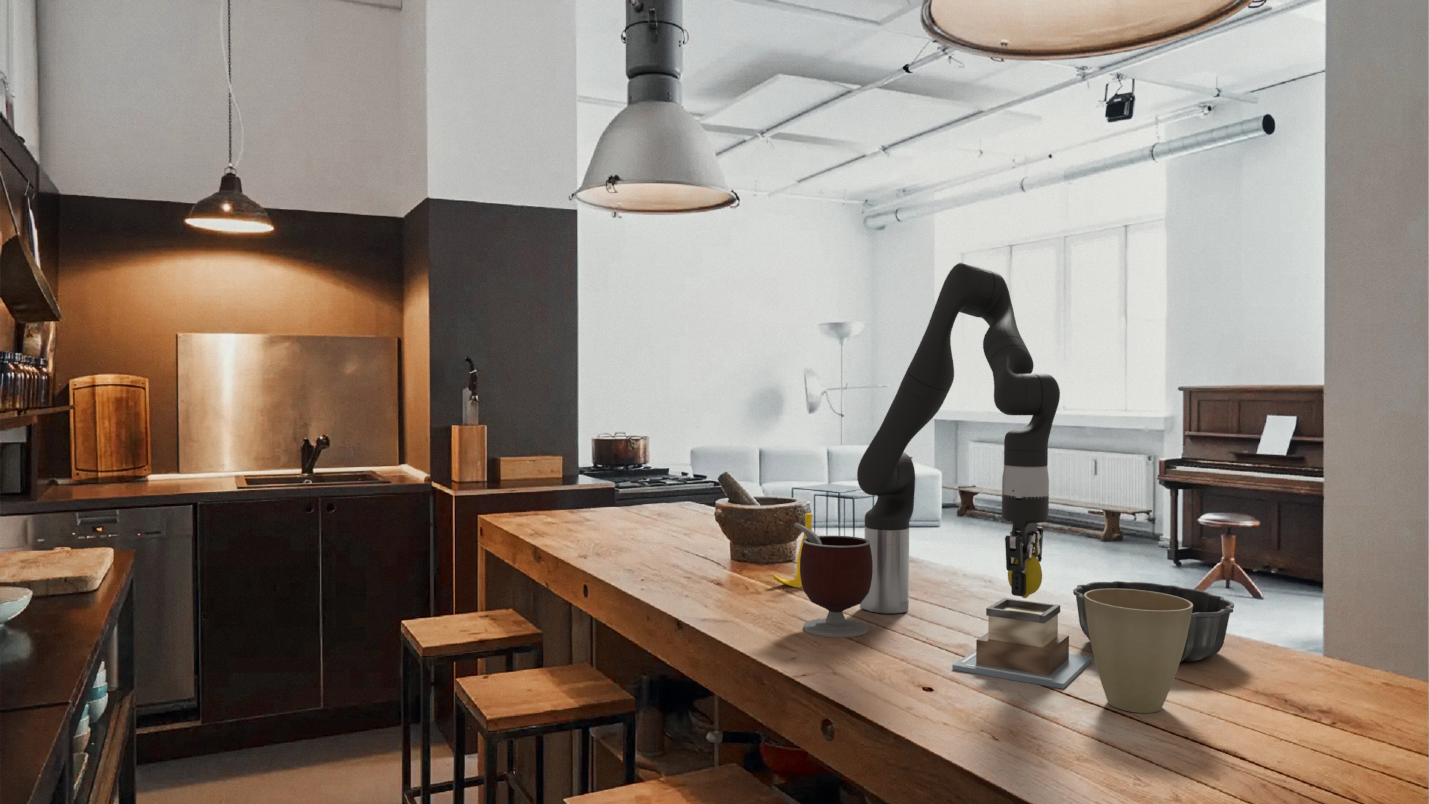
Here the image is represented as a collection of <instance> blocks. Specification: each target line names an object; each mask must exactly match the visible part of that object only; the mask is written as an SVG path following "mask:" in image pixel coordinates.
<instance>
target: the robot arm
mask: <svg viewBox="0 0 1429 804" xmlns="http://www.w3.org/2000/svg"><path fill="white" fill-rule="evenodd" d="M944 279H945V280H944V282H943V284H942V287H941V289H940V291H939V294H938V297H937V300H936V302H935V304H934V308H933V311H932V313H931V316H930V318H929V322H928V324H927V326H926V328H925V332H924V334H923V336H922V338H921V340H920V343H919V345H918V347H917V349H916V351H915V353H914V355H913V357H912V360H911V361H910V363H909V365H908V367H907V368H906V371H905V374H904V376H903V378H902V380H901V382H900V385H899V387H898V389H897V392H896V394H895V395H894V398H893V400H892V403H891V404H890V407H889V408H888V411H886V415H885V416H884V418H883V421H882V422H881V425H880V426H879V429H878V430H877V432H876V434H875V435H874V437H873V439H871V442H870V443H869V445H868V447H867V448H866V450H865V451H864V453H863V455H862V457H861V459H860V461H859V464H858V467H857V471H856V473H857V474H856V477H857V483H858V487H859V488H860V489H861V491H862V492H864V493H865V494H866V495H869V496H874V497H875V496H877V500H876V502H875V503H874V505H873V506H872V508H871V509H869V510H868V511H867V512H866V513H865V514H864V539H867V540H869V541H870V548H871V553H872V561H873V574H872V581H871V586H870V590H869V593H868V594H867V596H866V597H865V598H864V600H863V601H862V602H861V604H859V608H860V609H862V610H866V611H869V612H872V613H878V614H901V613H906V612H908V611H909V602H910V601H909V599H910V598H909V594H910V593H909V592H910V591H909V590H910V589H909V588H910V585H909V583H910V579H909V577H910V521H911V518H912V516H913V513H914V508H915V507H914V506H915V493H916V492H915V490H916V489H915V488H916V472H915V466H914V463H913V460H912V458H911V457H910V455H908V454H907V452H905V450H906V448H907V447H908V445H909V443H910V442H911V441H912V439H913V438H914V437H915V436H916V435H917V434H918V433H919V432H920V431H921V430H922V429H923V428H924V427H926V425H928V423H929V422H930V421H931V420H932V419H933V418H934V416H936V414H937V413H939V410H940V408H942V406H943V404H944V402H945V400H946V398H947V396H948V394H949V392H950V390H951V387H952V385H953V383H954V379H955V365H954V359H953V352H952V344H951V343H952V342H951V337H952V331H953V327H954V324H955V321H956V320H957V317H958V315H959V313H962V314H965V315H968V316H971V317H974V318H981V319H983V320H984V321H985V322H986V323H987V325H988V329H987V331H986V332H985V334H984V337H983V341H982V350H983V353H984V356H985V359H986V361H987V364H988V366H989V367H990V370H991V372H992V377H993V401H994V405H995V407H996V408H997V409H998V411H1000V412H1001V413H1002V414H1004V415H1007V416H1032V417H1031V419H1030V421H1029V423H1028V424H1027V425H1026V426H1024V427H1021V428H1018V429H1012V430H1010V431H1007V432H1006V433H1005V435H1004V440H1003V441H1004V442H1003V443H1004V444H1003V448H1004V450H1003V471H1002V480H1001V481H1002V483H1001V518H1002V519H1003V520H1004V521H1007V522H1011V523H1012V527H1011V528H1012V529H1011V531H1010V532H1009V535H1005V537H1004V541H1005V542H1004V543H1005V544H1004V545H1005V546H1004V548H1005V568H1006V571H1007V572H1008V571H1010V572H1011V573H1012V587H1011V586H1010V587H1011V595H1012V596H1016V597H1022V596H1024V595H1026V572H1027V562H1028V561H1030V560H1031V555H1033V556H1034V557H1036V558H1037V560H1038V561H1039V563H1041V562H1042V559H1043V558H1042V555H1043V543H1044V541H1043V540H1044V527H1042V526H1038V524H1041V523H1046V522H1047V521H1048V520H1049V513H1050V512H1049V510H1050V509H1049V504H1050V501H1049V498H1050V493H1049V492H1050V478H1049V476H1050V475H1049V470H1048V469H1049V468H1048V463H1049V462H1048V458H1049V455H1048V453H1049V451H1048V449H1049V446H1048V445H1049V440H1050V434H1051V431H1052V426H1053V423H1054V420H1055V416H1056V413H1057V410H1058V407H1059V403H1060V398H1061V393H1060V392H1061V390H1060V386H1059V383H1058V382H1057V379H1056V378H1054V376H1053V375H1050V374H1047V373H1033V371H1034V366H1035V365H1034V361H1033V357H1032V355H1031V354H1030V351H1029V349H1028V347H1027V345H1026V343H1025V342H1024V340H1023V338H1022V336H1021V334H1020V331H1019V329H1018V325H1017V320H1016V317H1015V312H1014V308H1013V303H1012V299H1011V296H1010V290H1009V287H1008V285H1007V282H1006V280H1005V279H1004V277H1003V276H1002V275H1001V274H1000V273H998V272H996V271H993V270H991V269H987V268H984V267H980V266H977V265H974V264H971V263H968V262H958V263H956V264H955V265H954V266H953V267H952V268H951V269H950V271H949V272H948V274H947V276H946V278H944ZM1016 560H1018V564H1015V563H1016Z"/></svg>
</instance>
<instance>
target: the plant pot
mask: <svg viewBox="0 0 1429 804" xmlns="http://www.w3.org/2000/svg"><path fill="white" fill-rule="evenodd" d="M1084 600H1085V609H1086V617H1087V624H1088V630H1089V636H1090V640H1089V642H1090V641H1091V642H1090V644H1091V649H1092V654H1093V657H1094V662H1095V666H1096V669H1097V673H1098V676H1099V680H1100V682H1101V685H1102V689H1103V691H1104V695H1105V698H1106V701H1107V702H1108V704H1109V705H1110V706H1112V707H1114V708H1116V709H1118V710H1122V711H1126V712H1131V713H1140V714H1153V713H1154V714H1155V713H1157V712H1159V711H1161V710H1162V708H1163V706H1164V704H1165V702H1166V701H1167V697H1168V695H1169V692H1170V691H1171V688H1172V686H1173V683H1174V681H1175V677H1176V675H1177V672H1178V670H1179V666H1180V663H1181V662H1182V661H1181V657H1182V654H1183V651H1184V647H1185V643H1186V640H1187V635H1188V630H1189V625H1190V620H1191V615H1192V609H1193V604H1192V603H1191V602H1190V601H1188V600H1186V599H1183V598H1180V597H1177V596H1173V595H1168V594H1164V593H1158V592H1151V591H1144V590H1134V589H1115V588H1114V589H1096V590H1091V591H1088V592H1086V593H1085V594H1084ZM1180 661H1181V662H1180Z"/></svg>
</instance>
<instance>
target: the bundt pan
mask: <svg viewBox="0 0 1429 804" xmlns="http://www.w3.org/2000/svg"><path fill="white" fill-rule="evenodd" d="M1114 588H1115V589H1134V590H1144V591H1151V592H1158V593H1164V594H1168V595H1173V596H1177V597H1180V598H1183V599H1186V600H1188V601H1190V602H1191V603H1192V604H1193V609H1192V615H1191V620H1190V625H1189V630H1188V635H1187V640H1186V643H1185V647H1184V651H1183V654H1182V657H1181V661H1180V663H1181V662H1183V661H1185V662H1196V661H1200V660H1205V659H1209V658H1212V657H1214V656H1216V655H1217V654H1218V653H1219V652H1220V651H1221V649H1222V648H1223V645H1224V642H1225V638H1226V635H1227V629H1228V625H1229V619H1230V616H1231V613H1234V608H1235V603H1233V601H1230V600H1228V599H1225V597H1224V596H1221V595H1217V594H1216V595H1215V594H1212V593H1210V592H1207V591H1203V590H1199V589H1195V588H1188V587H1182V586H1178V585H1172V584H1171V585H1168V584H1167V585H1166V584H1160V583H1153V582H1143V581H1121V580H1120V581H1119V580H1118V581H1117V580H1115V581H1095V582H1094V581H1093V582H1092V581H1091V582H1088V583H1086V584H1077V586H1076V587H1074V589H1073V590H1072V591H1073V592H1072V593H1073V596H1075V599H1076V605H1077V606H1076V607H1077V613H1078V622H1079V626H1080V628H1081V631H1082V632H1083V634H1084V635H1085V636H1086V638H1087V639H1088V641H1089V642H1090V643H1091V641H1090V636H1089V630H1088V624H1087V617H1086V609H1085V600H1084V594H1085V593H1086V592H1088V591H1091V590H1096V589H1114Z"/></svg>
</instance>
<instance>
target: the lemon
mask: <svg viewBox="0 0 1429 804" xmlns="http://www.w3.org/2000/svg"><path fill="white" fill-rule="evenodd" d="M1040 563H1041V562H1039V561H1038V560H1037V558H1036V557H1034V556H1033V555H1031V560H1030V561H1028V562H1027V572H1026V595H1024V596H1021V597H1022V599H1027V598H1028V597H1029V596H1031V595H1032V594H1035V593H1036V592H1037V591H1038V590H1039V589H1040V587H1041V586H1042V585H1041V584H1042V582H1043V569H1042V566H1041V564H1040ZM1015 564H1018V560H1016V563H1015ZM1007 580H1008V581H1007V582H1008V583H1009V584H1008V585H1009V586H1010V587H1012V573H1011V572H1010V571H1008V570H1007Z"/></svg>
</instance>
